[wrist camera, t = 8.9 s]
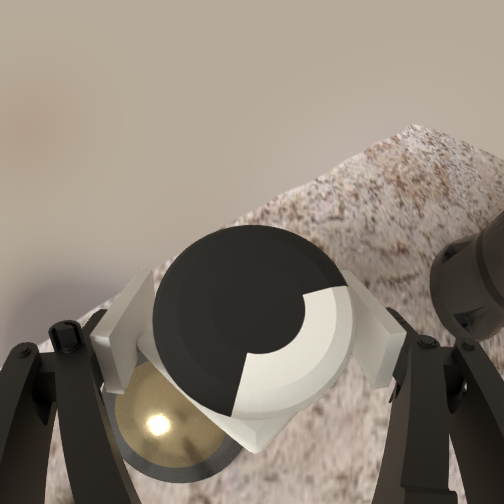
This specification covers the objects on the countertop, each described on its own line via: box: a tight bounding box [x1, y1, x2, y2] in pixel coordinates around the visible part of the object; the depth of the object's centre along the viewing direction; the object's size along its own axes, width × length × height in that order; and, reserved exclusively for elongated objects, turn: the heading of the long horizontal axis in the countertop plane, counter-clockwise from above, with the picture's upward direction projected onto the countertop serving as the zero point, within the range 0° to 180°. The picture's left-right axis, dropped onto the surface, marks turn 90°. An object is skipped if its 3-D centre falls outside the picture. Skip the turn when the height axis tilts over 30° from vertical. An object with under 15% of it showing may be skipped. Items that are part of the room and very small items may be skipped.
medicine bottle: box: [137, 225, 357, 453], centre depth 13 cm, size 7×7×12 cm
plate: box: [102, 352, 242, 483], centre depth 27 cm, size 16×16×2 cm
